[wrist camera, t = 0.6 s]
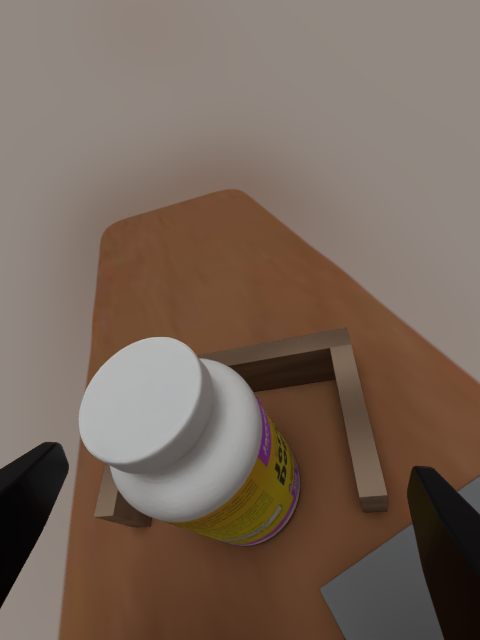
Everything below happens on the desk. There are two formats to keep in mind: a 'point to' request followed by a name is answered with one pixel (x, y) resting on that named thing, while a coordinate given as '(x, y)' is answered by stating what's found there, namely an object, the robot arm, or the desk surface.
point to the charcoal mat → (389, 590)
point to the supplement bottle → (190, 443)
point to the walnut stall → (282, 371)
